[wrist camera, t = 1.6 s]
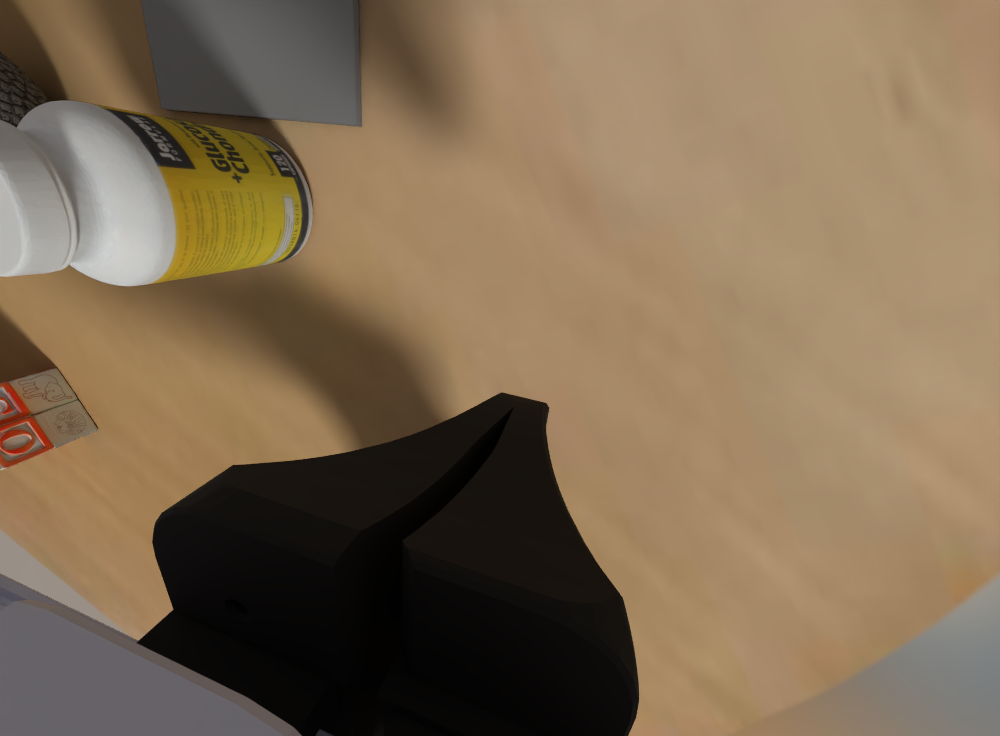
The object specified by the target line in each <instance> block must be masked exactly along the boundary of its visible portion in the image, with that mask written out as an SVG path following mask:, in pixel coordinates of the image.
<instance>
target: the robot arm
mask: <svg viewBox="0 0 1000 736" xmlns="http://www.w3.org/2000/svg"><path fill="white" fill-rule="evenodd" d="M548 412H549V407H548V405H547V404H546V403H544V402H540V401H535V400H531V399H527V398H523V397H519V396H515V395H510V394H506V393H500V394H498V395H496V396H494V397H492V398H490V399H488V400H486V401H484V402H483V403H481V404H479V405H477V406H475V407H473V408H471V409H469V410H467V411H465V412H463V413H461V414H460V415H458V416H456V417H453V418H451V419H449V420H447V421H444V422H442V423H440V424H438V425H435V426H433V427H431V428H428V429H426V430H423V431H421V432H418V433H415V434H413V435H410V436H407V437H404V438H401V439H398V440H394V441H391V442H388V443H384V444H380V445H376V446H372V447H368V448H363V449H359V450H355V451H351V452H346V453H341V454H335V455H329V456H323V457H316V458H309V459H302V460H294V461H283V462H271V463H259V464H246V465H233V466H231V467H229V468H228V469H227V470H225V471H224V472H222V473H221V474H219V475H218V476H216V477H215V478H213V479H212V480H210V481H209V482H207V483H206V484H204V485H203V486H201V487H200V488H198V489H197V490H195V491H194V492H192V493H191V494H189V495H188V496H186V497H185V498H183V499H182V500H180V501H179V502H177V503H176V504H174V505H173V506H171V507H170V508H168V509H167V510H165V511H164V512H162V513H161V515H160V516H159V518H158V519H157V521H156V522H155V526H154V532H153V541H152V543H153V547H154V552H155V557H156V560H157V563H158V566H159V569H160V571H161V574H162V577H163V580H164V583H165V586H166V589H167V592H168V595H169V598H170V600H171V603H172V606H173V609H174V610H173V611H171V612H170V613H169V614H168V615H167V616H166V617H165V618H164V619H163V620H161V621H160V622H159V623H158V624H157V625H156V626H155V627H154V628H152V629H151V630H150V631H149V632H148V633H147V634H146V635H145V636H144V637H142V638H141V639H140V640H139V641H138V640H136V639H134V638H132V637H130V636H128V635H126V634H124V633H121V632H119V631H117V630H115V629H113V628H111V627H109V626H107V625H105V624H103V623H101V622H99V621H97V620H95V619H93V618H91V617H89V616H87V615H85V614H82V613H80V612H78V611H76V610H74V609H72V608H70V607H68V606H66V605H64V604H62V603H60V602H58V601H55V600H54V599H52V598H50V597H48V596H45V595H43V594H41V593H39V592H37V591H35V590H33V589H31V588H29V587H27V586H25V585H23V584H21V583H19V582H17V581H15V580H13V579H11V578H8V577H6V576H4V575H2V574H0V736H628V735H629V732H630V730H631V728H632V726H633V723H634V721H635V719H636V714H637V709H638V703H639V683H638V674H637V665H636V658H635V651H634V645H633V640H632V635H631V630H630V626H629V621H628V617H627V613H626V609H625V605H624V601H623V598H622V596H621V595H620V593H619V592H618V591H617V589H616V588H615V587H614V585H613V584H612V583H611V581H610V580H609V579H608V577H607V576H606V575H605V573H604V572H603V571H602V569H601V568H600V566H599V565H598V563H597V562H596V560H595V559H594V557H593V555H592V554H591V552H590V551H589V549H588V547H587V546H586V544H585V542H584V541H583V539H582V537H581V535H580V533H579V531H578V529H577V527H576V525H575V523H574V521H573V520H572V518H571V516H570V514H569V512H568V510H567V507H566V505H565V502H564V500H563V498H562V495H561V492H560V490H559V487H558V484H557V481H556V478H555V475H554V471H553V468H552V463H551V459H550V455H549V450H548V443H547V435H546V423H547V418H548Z"/></svg>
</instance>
